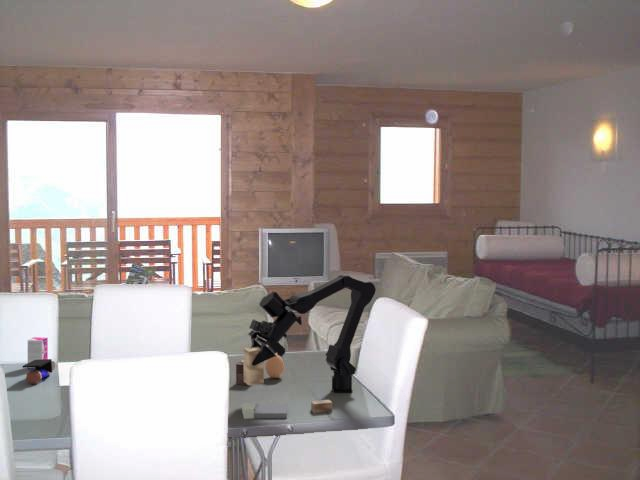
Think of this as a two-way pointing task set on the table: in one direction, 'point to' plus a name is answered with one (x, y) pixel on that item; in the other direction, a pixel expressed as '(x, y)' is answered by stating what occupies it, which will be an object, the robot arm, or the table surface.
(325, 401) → the walnut brick
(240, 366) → the box
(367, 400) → the table surface
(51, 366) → the figurine character
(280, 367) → the egg
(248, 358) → the oak block
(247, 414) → the sage brick
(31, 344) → the supplement box
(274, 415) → the slate tile
